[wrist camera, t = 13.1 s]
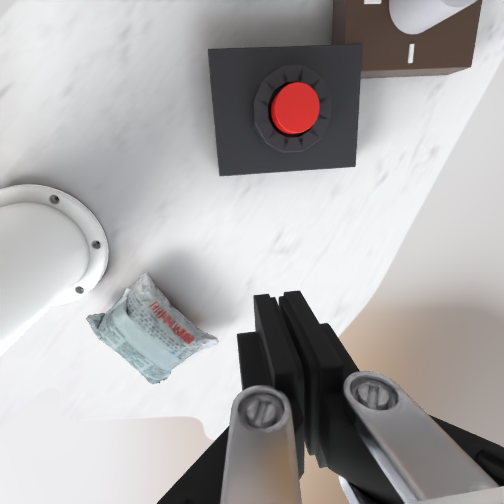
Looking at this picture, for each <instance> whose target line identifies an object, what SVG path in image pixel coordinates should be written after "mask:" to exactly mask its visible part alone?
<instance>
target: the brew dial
mask: <svg viewBox="0 0 504 504" xmlns="http://www.w3.org/2000/svg"><path fill="white" fill-rule="evenodd" d="M475 1H477V0H389V10H390V15H391V18H392V21H393V22H394V24H395V25H396V27H397V28H398V29H399V30H401V31H402V32H404V33H407V34H419V33H421V32H424V31H425V30H427V29H429V28H431V27H432V26H434V25H436V24H438V23H439V22H441V21H443V20H445V19H446V18H448V17H450V16H452V15H453V14H455V13H457V12H459V11H460V10H462V9H464V8H466V7H467V6H469V5H471V4H473V3H474V2H475Z"/></svg>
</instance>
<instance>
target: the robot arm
mask: <svg viewBox="0 0 504 504" xmlns="http://www.w3.org/2000/svg"><path fill="white" fill-rule="evenodd" d="M56 197H58V198H59V201H58V200H57V198H56ZM97 241H98V242H100V244H98V243H97ZM108 254H109V249H108V243H107V238H106V236H105V233H104V231H103V228H102V226H101V225H100V223H99V222H98V220H97V218H96V217H95V216H94V215H93V214H92V212H91V211H90V210H89V209H88V208H87V207H86V206H85V205H83V204H82V203H81V202H80V201H78V200H77V199H76V198H74V197H72V196H70V195H69V194H67V193H65V192H63V191H60V190H57V189H55V188H52V187H47V186H42V185H35V184H23V185H16V186H10V187H6V188H3V189H0V356H1V355H2V354H3V353H4V352H5V351H6V350H7V349H8V348H9V347H10V346H11V345H12V344H13V343H14V342H16V341H17V340H18V339H19V338H20V337H21V336H22V335H23V334H24V333H25V332H26V331H27V330H28V329H29V328H30V327H31V326H32V325H33V324H34V323H35V322H36V321H38V320H39V319H40V318H41V317H42V316H43V315H44V314H45V313H46V312H47V311H48V310H49V309H50V308H51V307H52V306H53V305H61V304H66V303H70V302H72V301H75V300H78V299H80V298H81V297H83V296H84V295H86V294H88V293H89V292H90V291H91V290H92V289H93V288H94V287H95V286H96V285H97V284H98V282H99V281H100V280H101V278H102V276H103V274H104V273H105V271H106V267H107V263H108ZM82 287H83V288H82ZM254 313H255V329H256V332H248V333H240V334H237V341H238V352H239V363H240V373H241V382H242V392H241V393H239V394H238V395H237V397H236V398H235V400H234V402H233V405H232V408H231V416H230V425H229V426H228V427H227V429H226V430H225V431H224V432H223V433H222V434H221V435H220V436H219V437H218V438H217V439H216V440H215V441H214V443H213V444H212V445H211V446H210V447H209V448H208V449H207V450H206V451H205V452H204V453H203V454H202V455H201V457H200V458H199V459H198V460H197V461H196V462H195V463H194V464H193V465H192V466H191V467H190V468H189V469H188V470H187V471H186V473H185V474H184V475H183V476H182V477H181V478H180V479H179V480H178V481H177V482H176V483H175V484H174V485H173V486H172V488H171V489H170V490H169V491H168V492H167V493H166V494H165V495H164V496H163V497H162V498H161V499H160V500H159V501H158V503H157V504H302V500H301V491H300V482H299V480H300V478H301V476H302V475H303V473H304V441H305V444H306V448H307V451H308V453H309V455H315V456H316V459H317V462H318V465H319V467H320V468H323V467H328V468H329V469H331V470H332V471H334V472H335V473H337V474H338V475H339V481H340V483H341V486H342V489H343V491H344V493H345V495H346V496H347V498H348V500H349V502H350V504H504V448H503V447H501V446H500V445H498V444H495V443H493V442H491V441H488V440H486V439H484V438H482V437H479V436H477V435H475V434H472V433H470V432H468V431H465V430H463V429H461V428H458V427H456V426H454V425H451V424H449V423H447V422H444V421H442V420H440V419H437V418H435V417H433V416H431V415H428V414H427V413H426V412H425V411H424V410H423V409H422V408H421V407H420V406H419V405H418V404H417V403H416V402H415V401H414V400H413V399H412V398H411V397H410V396H409V395H408V394H407V393H406V392H405V391H404V390H403V389H402V388H401V387H400V386H399V385H398V384H397V383H396V382H394V381H393V380H392V379H390V378H388V377H387V376H385V375H383V374H379V373H376V372H371V371H359V369H358V368H357V366H356V365H355V363H354V362H353V360H352V358H351V357H350V355H349V354H348V352H347V351H346V349H345V348H344V346H343V345H342V343H341V342H340V340H339V338H338V337H337V335H336V334H335V332H334V331H333V329H332V328H331V326H330V325H329V324H328V323H324V324H319V322H318V320H317V319H316V317H315V315H314V314H313V312H312V310H311V309H310V307H309V305H308V304H307V302H306V300H305V299H304V297H303V295H302V294H301V292H300V291H290V292H284V296H280V297H279V306H278V303H277V301H276V298H275V297H271V298H270V296H269V294H262V295H254Z"/></svg>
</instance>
